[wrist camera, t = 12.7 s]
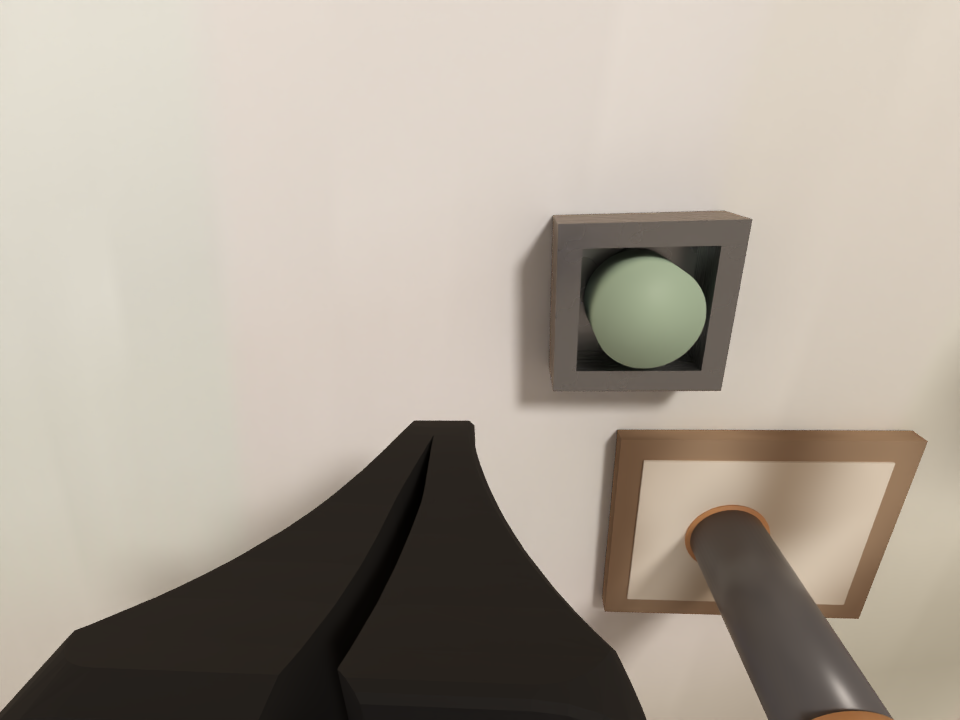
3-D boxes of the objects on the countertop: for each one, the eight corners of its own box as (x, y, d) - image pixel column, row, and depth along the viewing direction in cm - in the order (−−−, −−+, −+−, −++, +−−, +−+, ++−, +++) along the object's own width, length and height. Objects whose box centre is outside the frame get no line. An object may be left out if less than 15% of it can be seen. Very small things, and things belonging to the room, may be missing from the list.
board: (602, 597, 25) (605, 614, 24) (617, 429, 21) (622, 442, 20) (848, 604, 24) (861, 622, 23) (912, 430, 20) (931, 444, 19)
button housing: (549, 366, 20) (553, 390, 18) (552, 215, 18) (558, 224, 16) (699, 365, 20) (720, 390, 18) (724, 210, 17) (752, 219, 15)
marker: (683, 566, 23) (791, 829, 14) (693, 507, 21) (820, 757, 12) (759, 567, 22) (917, 836, 14) (774, 508, 21) (961, 764, 12)
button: (581, 343, 19) (590, 368, 17) (586, 250, 18) (597, 265, 15) (676, 342, 19) (697, 368, 17) (689, 248, 17) (714, 262, 15)
